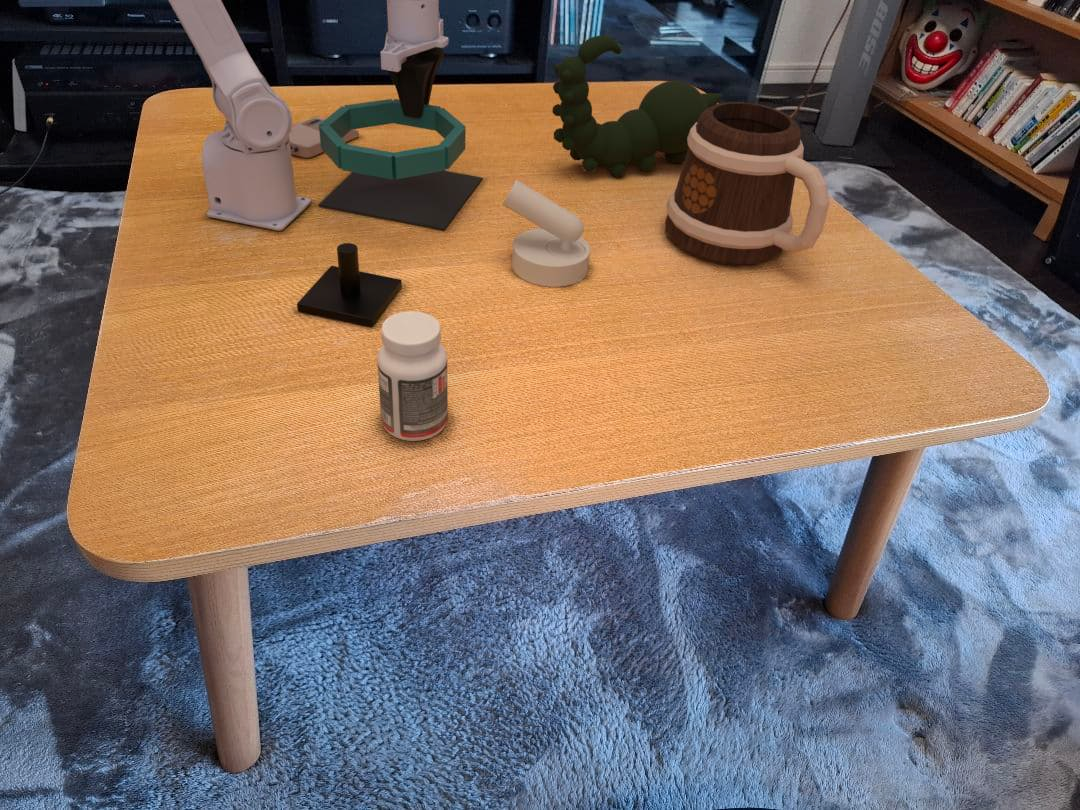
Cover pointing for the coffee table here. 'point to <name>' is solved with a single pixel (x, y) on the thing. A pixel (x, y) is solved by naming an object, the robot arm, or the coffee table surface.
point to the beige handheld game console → (311, 138)
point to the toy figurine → (624, 117)
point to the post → (350, 291)
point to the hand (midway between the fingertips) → (415, 113)
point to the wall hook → (547, 240)
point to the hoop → (385, 161)
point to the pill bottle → (412, 376)
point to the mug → (743, 187)
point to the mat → (405, 197)
